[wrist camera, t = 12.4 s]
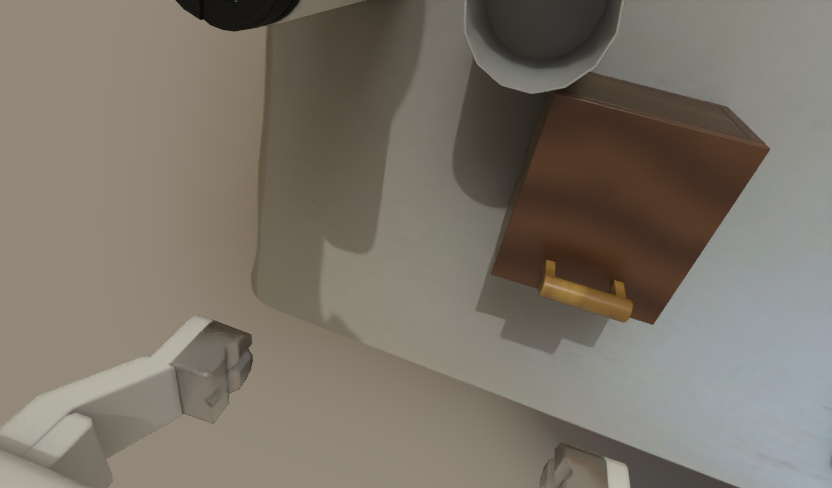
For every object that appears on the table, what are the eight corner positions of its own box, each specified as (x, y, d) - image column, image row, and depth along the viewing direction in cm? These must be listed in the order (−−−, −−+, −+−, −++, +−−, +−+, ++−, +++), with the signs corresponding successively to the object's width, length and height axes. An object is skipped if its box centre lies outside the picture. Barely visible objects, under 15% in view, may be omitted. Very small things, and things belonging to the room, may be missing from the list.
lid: (651, 318, 36) (661, 360, 32) (492, 268, 37) (484, 303, 33) (766, 143, 27) (796, 173, 24) (555, 89, 29) (553, 109, 25)
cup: (474, 42, 36) (447, 70, 28) (505, -86, 31) (485, -97, 23) (581, 71, 35) (587, 109, 27) (631, -57, 30) (655, -58, 22)
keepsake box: (642, 255, 42) (656, 310, 35) (505, 214, 43) (494, 260, 37) (728, 107, 34) (766, 143, 27) (557, 63, 35) (555, 88, 29)
